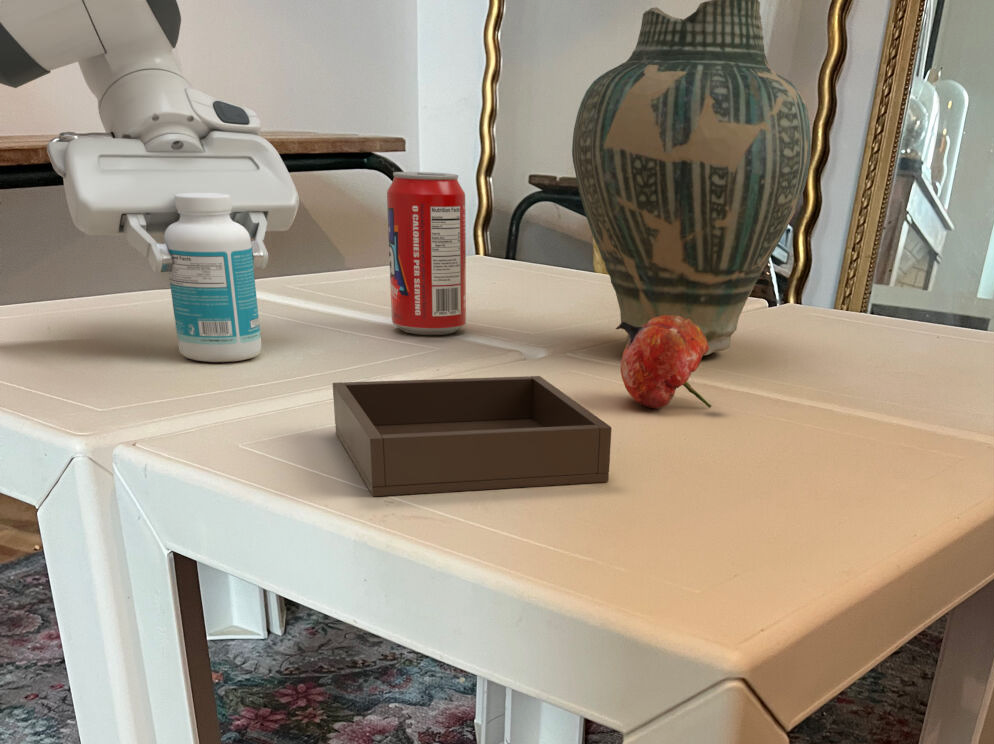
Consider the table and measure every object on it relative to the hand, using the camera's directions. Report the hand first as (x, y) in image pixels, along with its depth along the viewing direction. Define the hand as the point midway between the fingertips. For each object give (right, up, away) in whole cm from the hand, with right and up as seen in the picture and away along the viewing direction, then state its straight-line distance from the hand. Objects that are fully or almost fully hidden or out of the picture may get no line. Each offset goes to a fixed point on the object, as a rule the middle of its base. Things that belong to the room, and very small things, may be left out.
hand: (213, 265), depth 100 cm
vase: (+42, -3, +14) cm, 45 cm away
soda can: (+17, +1, +20) cm, 26 cm away
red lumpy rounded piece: (+40, -14, -6) cm, 43 cm away
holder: (+24, -23, -22) cm, 40 cm away
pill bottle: (-1, -7, +4) cm, 8 cm away
